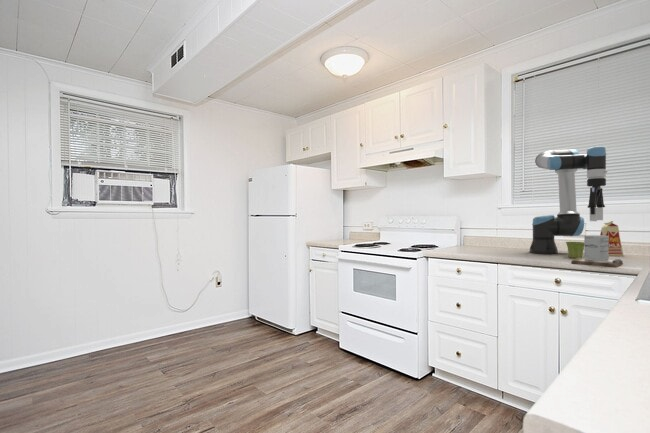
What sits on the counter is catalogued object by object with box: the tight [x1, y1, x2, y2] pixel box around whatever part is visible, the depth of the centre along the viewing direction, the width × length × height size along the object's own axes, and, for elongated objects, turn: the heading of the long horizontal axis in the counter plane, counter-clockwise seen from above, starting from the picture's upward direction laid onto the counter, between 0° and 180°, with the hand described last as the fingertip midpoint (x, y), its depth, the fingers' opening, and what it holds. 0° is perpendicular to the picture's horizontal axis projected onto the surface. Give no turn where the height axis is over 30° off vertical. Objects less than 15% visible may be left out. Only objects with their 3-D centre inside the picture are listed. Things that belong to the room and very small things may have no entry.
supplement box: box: [583, 234, 609, 262], centre depth 180 cm, size 7×7×13 cm
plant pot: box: [565, 241, 584, 259], centre depth 202 cm, size 9×9×9 cm
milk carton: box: [600, 220, 624, 257], centre depth 211 cm, size 9×9×20 cm
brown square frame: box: [570, 257, 624, 268], centre depth 180 cm, size 18×15×2 cm
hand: (596, 220), depth 180 cm, fingers open, 13 cm apart
